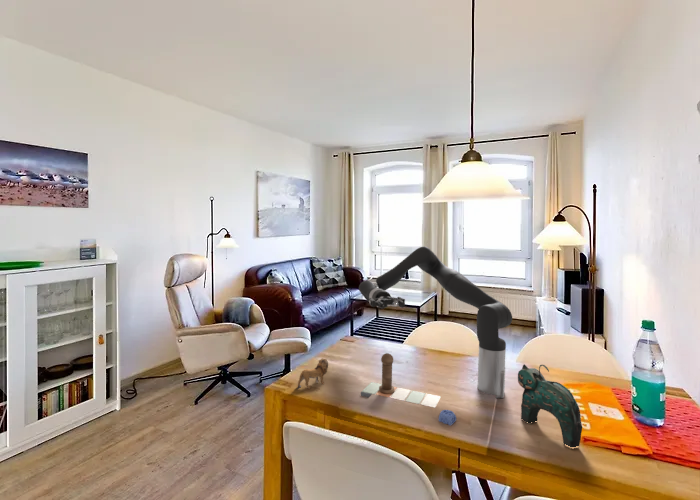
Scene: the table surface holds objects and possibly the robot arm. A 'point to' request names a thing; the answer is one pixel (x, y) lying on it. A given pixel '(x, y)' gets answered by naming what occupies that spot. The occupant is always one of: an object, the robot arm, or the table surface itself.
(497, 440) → the table surface
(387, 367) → the pawn
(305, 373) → the lion figurine
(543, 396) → the ceramic cat
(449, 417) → the decorative dice
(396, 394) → the game board
